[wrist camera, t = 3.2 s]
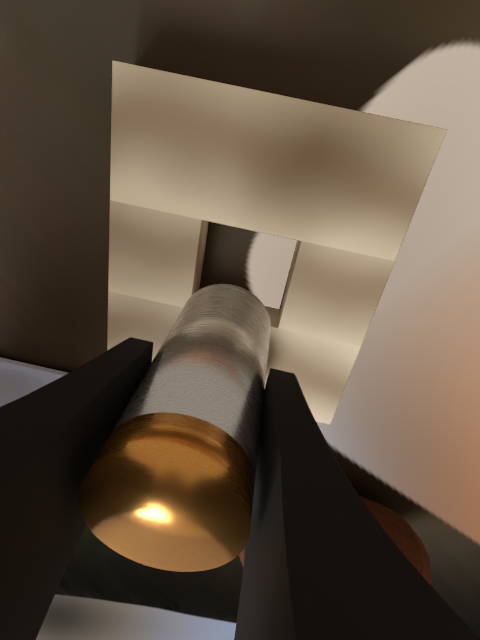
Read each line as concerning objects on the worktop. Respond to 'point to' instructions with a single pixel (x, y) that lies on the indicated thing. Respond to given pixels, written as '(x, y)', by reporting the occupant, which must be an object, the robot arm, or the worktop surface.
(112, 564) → the worktop surface
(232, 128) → the plate
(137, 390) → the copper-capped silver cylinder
